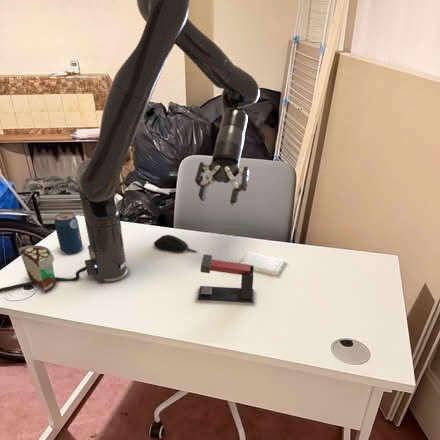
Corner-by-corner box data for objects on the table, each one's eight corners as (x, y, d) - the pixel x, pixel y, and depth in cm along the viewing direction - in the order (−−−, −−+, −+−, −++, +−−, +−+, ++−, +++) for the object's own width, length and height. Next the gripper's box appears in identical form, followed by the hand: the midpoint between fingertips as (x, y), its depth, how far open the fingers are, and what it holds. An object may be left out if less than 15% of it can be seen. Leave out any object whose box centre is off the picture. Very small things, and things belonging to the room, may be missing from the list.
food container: (68, 286, 112) (60, 255, 107) (47, 294, 109) (39, 263, 103) (47, 270, 119) (39, 240, 114) (27, 277, 115) (17, 247, 110)
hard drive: (239, 263, 122) (277, 271, 118) (248, 251, 128) (285, 259, 124) (238, 267, 123) (277, 276, 119) (247, 255, 129) (284, 264, 125)
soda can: (87, 249, 130) (80, 215, 123) (68, 257, 126) (60, 222, 119) (75, 243, 134) (68, 209, 127) (57, 250, 129) (48, 216, 123)
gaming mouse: (191, 256, 128) (191, 245, 125) (150, 248, 132) (149, 237, 130) (199, 247, 133) (199, 237, 130) (159, 240, 137) (158, 229, 134)
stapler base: (197, 301, 107) (197, 273, 102) (200, 289, 112) (200, 261, 107) (253, 304, 107) (255, 276, 101) (253, 292, 111) (255, 264, 106)
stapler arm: (200, 272, 102) (201, 265, 101) (202, 260, 107) (203, 254, 106) (249, 279, 102) (250, 272, 101) (249, 267, 107) (250, 260, 106)
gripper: (201, 137, 107) (188, 193, 105) (252, 141, 104) (240, 199, 102) (207, 151, 115) (195, 204, 112) (255, 156, 111) (244, 210, 109)
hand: (216, 201), depth 107 cm, fingers open, 8 cm apart
